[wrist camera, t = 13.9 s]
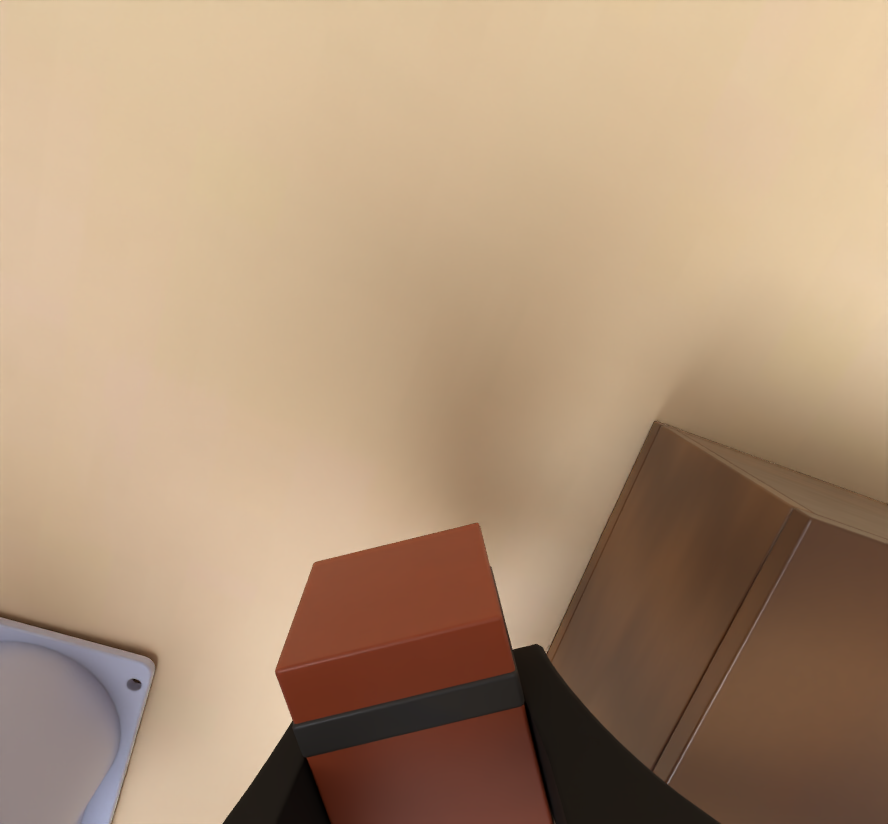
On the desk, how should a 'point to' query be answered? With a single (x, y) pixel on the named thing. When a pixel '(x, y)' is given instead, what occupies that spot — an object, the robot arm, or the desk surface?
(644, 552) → the cabinet
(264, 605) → the desk surface
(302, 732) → the block
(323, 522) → the desk surface
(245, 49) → the desk surface
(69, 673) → the robot arm
